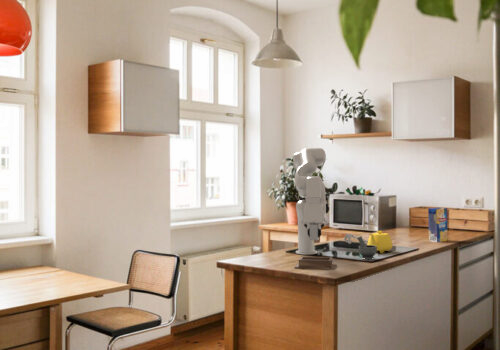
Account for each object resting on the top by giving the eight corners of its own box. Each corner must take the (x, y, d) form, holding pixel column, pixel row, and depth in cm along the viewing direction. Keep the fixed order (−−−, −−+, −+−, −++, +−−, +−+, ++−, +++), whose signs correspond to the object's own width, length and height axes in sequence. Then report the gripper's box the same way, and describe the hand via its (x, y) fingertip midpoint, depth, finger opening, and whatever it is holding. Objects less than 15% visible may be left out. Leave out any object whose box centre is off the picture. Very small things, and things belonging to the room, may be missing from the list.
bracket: (345, 239, 347) (351, 227, 344) (372, 256, 335) (378, 243, 332) (343, 240, 345) (349, 227, 342) (369, 257, 332) (375, 244, 330)
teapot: (360, 253, 304) (360, 231, 304) (377, 248, 318) (377, 228, 318) (381, 255, 295) (380, 233, 295) (397, 250, 309) (397, 230, 309)
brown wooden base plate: (297, 264, 271) (297, 256, 271) (336, 264, 267) (336, 257, 267) (294, 268, 260) (294, 260, 260) (334, 269, 255) (334, 260, 255)
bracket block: (311, 238, 267) (310, 221, 267) (319, 238, 266) (318, 221, 266) (309, 240, 261) (309, 222, 261) (317, 240, 260) (317, 222, 260)
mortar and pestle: (380, 258, 283) (380, 236, 283) (370, 261, 276) (370, 238, 276) (363, 256, 291) (362, 235, 291) (353, 258, 285) (352, 236, 285)
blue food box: (447, 240, 348) (447, 208, 348) (437, 242, 342) (436, 208, 342) (438, 239, 354) (438, 207, 354) (428, 241, 348) (428, 208, 348)
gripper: (331, 200, 265) (331, 236, 265) (298, 200, 269) (299, 235, 269) (329, 201, 258) (330, 238, 258) (296, 201, 262) (297, 237, 262)
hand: (314, 236), depth 263 cm, fingers closed on bracket block, 4 cm apart
